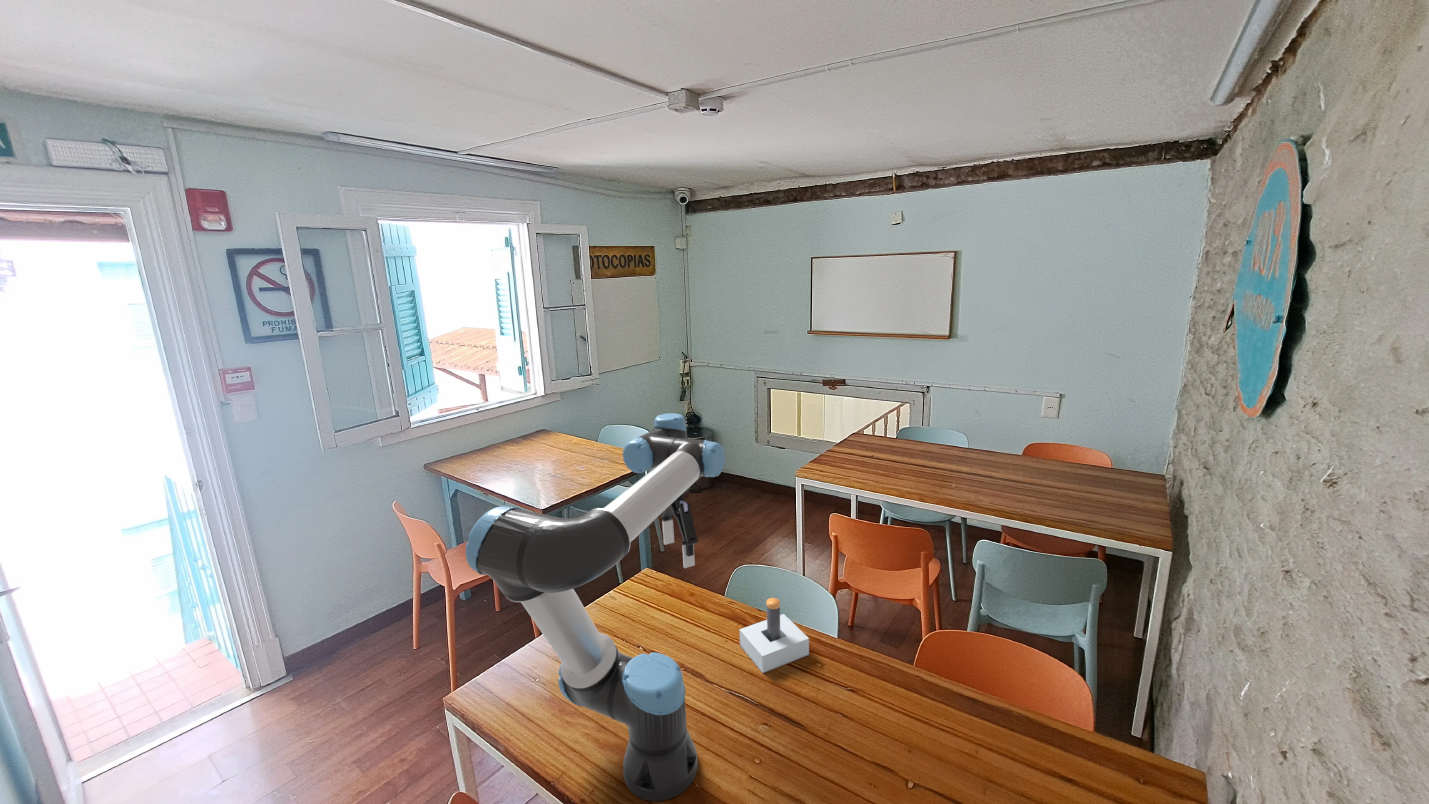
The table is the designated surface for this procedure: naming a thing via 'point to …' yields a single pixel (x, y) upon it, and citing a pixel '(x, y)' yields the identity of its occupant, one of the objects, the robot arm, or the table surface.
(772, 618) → the marker
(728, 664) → the table surface
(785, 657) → the socket block
